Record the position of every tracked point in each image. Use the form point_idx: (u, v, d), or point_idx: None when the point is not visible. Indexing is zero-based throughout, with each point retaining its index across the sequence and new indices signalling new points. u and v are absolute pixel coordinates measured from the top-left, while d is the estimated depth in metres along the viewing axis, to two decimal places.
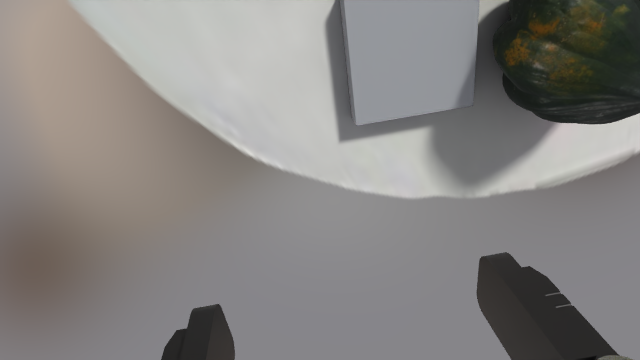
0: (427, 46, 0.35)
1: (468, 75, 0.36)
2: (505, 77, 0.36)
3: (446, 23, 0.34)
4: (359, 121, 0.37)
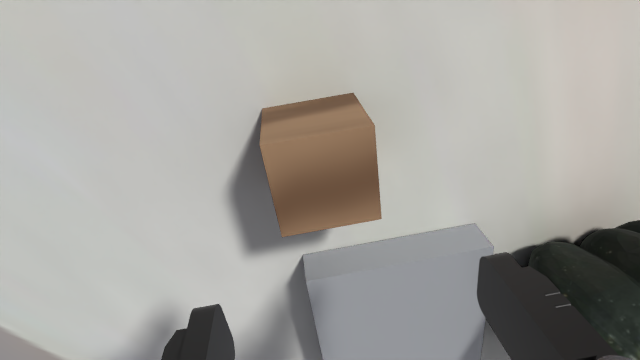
0: (421, 319, 0.26)
1: (474, 339, 0.28)
2: None
3: (446, 297, 0.25)
4: None
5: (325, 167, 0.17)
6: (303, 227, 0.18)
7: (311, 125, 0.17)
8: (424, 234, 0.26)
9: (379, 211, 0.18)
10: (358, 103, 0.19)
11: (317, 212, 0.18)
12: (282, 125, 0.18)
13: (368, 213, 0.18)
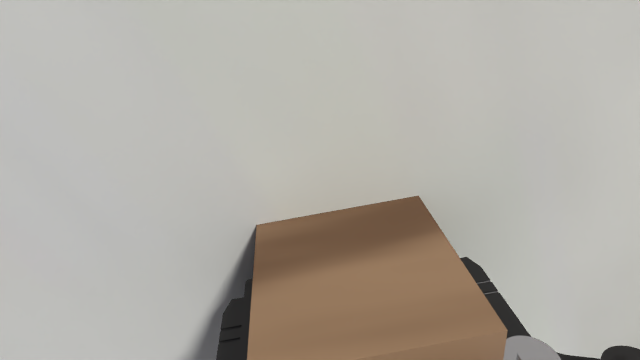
0: None
1: None
2: None
3: None
4: None
5: None
6: None
7: (357, 305, 0.08)
8: None
9: None
10: (440, 233, 0.10)
11: None
12: (295, 296, 0.09)
13: None
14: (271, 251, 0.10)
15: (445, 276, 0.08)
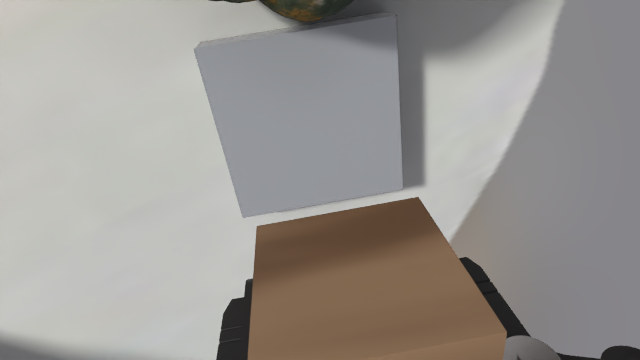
0: (300, 109, 0.24)
1: (344, 35, 0.22)
2: None
3: (268, 87, 0.23)
4: (397, 186, 0.28)
5: None
6: None
7: (356, 307, 0.08)
8: None
9: None
10: (439, 235, 0.10)
11: None
12: (296, 298, 0.09)
13: None
14: (271, 252, 0.10)
15: (445, 278, 0.08)
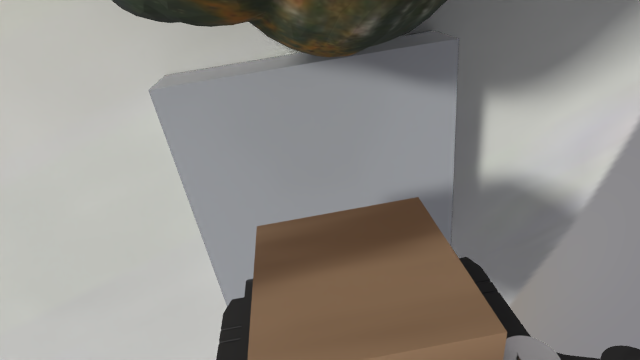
0: (310, 173, 0.17)
1: (379, 68, 0.15)
2: None
3: (263, 143, 0.16)
4: None
5: None
6: None
7: (357, 307, 0.08)
8: None
9: None
10: (440, 235, 0.10)
11: None
12: (295, 298, 0.09)
13: None
14: (271, 252, 0.10)
15: (445, 278, 0.08)
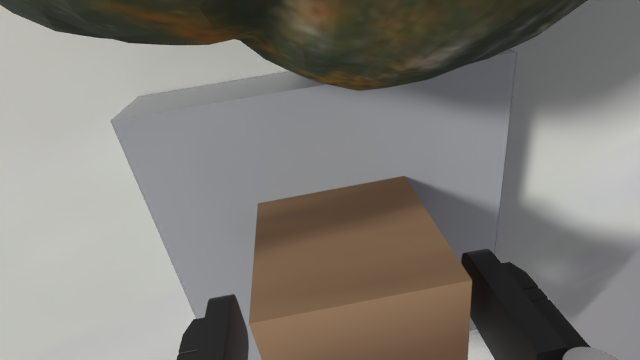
0: None
1: (412, 91, 0.11)
2: None
3: (262, 185, 0.12)
4: None
5: (372, 348, 0.09)
6: None
7: (345, 265, 0.09)
8: None
9: None
10: (420, 206, 0.11)
11: None
12: (292, 259, 0.10)
13: None
14: (271, 224, 0.11)
15: (422, 240, 0.10)
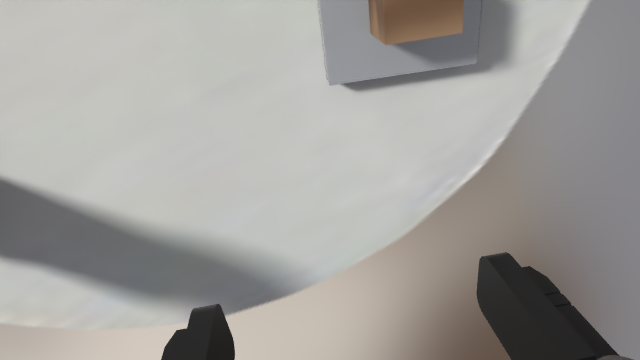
0: None
1: None
2: None
3: None
4: (472, 59, 0.30)
5: None
6: (402, 36, 0.24)
7: None
8: None
9: (461, 25, 0.24)
10: None
11: (415, 22, 0.24)
12: None
13: (453, 26, 0.24)
14: None
15: None
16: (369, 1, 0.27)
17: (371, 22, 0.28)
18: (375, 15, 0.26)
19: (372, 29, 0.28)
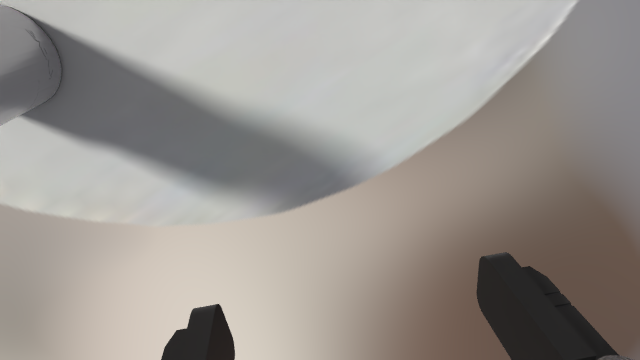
0: None
1: None
2: None
3: None
4: None
5: None
6: None
7: None
8: None
9: None
10: None
11: None
12: None
13: None
14: None
15: None
16: None
17: None
18: None
19: None
